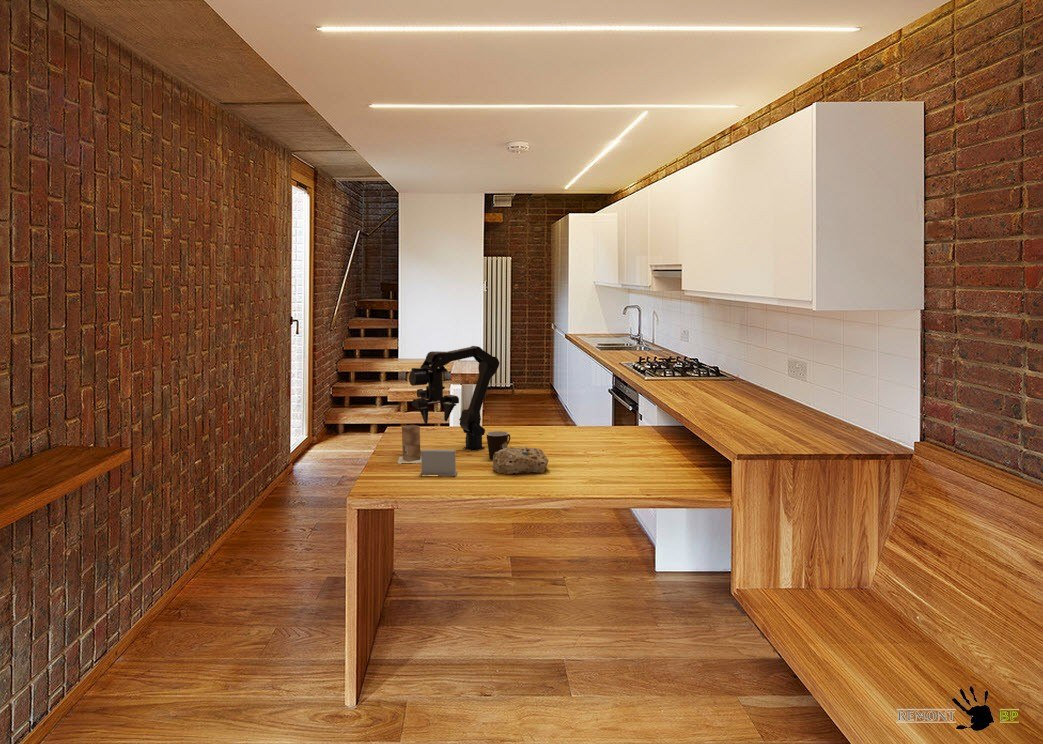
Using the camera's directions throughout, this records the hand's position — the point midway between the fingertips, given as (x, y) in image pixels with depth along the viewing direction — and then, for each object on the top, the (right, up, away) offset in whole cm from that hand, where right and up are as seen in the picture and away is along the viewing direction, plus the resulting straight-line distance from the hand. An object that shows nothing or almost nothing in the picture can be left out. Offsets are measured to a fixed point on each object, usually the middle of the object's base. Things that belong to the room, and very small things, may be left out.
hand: (435, 422), depth 298 cm
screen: (+4, -17, -27) cm, 32 cm away
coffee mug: (+26, -14, -4) cm, 30 cm away
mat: (-9, -14, -6) cm, 18 cm away
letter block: (-9, -14, -6) cm, 18 cm away
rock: (+34, -17, -22) cm, 43 cm away
